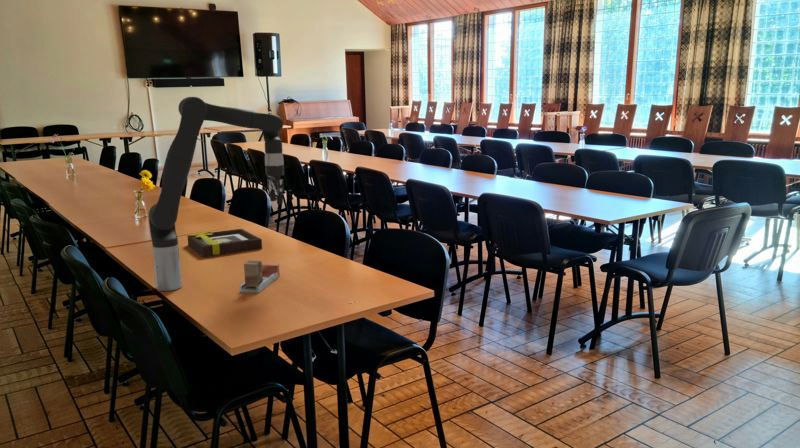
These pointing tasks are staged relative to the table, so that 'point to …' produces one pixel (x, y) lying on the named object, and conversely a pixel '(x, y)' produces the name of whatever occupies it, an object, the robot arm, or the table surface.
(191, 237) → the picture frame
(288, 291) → the table surface
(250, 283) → the slider block
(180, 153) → the robot arm
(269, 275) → the track
